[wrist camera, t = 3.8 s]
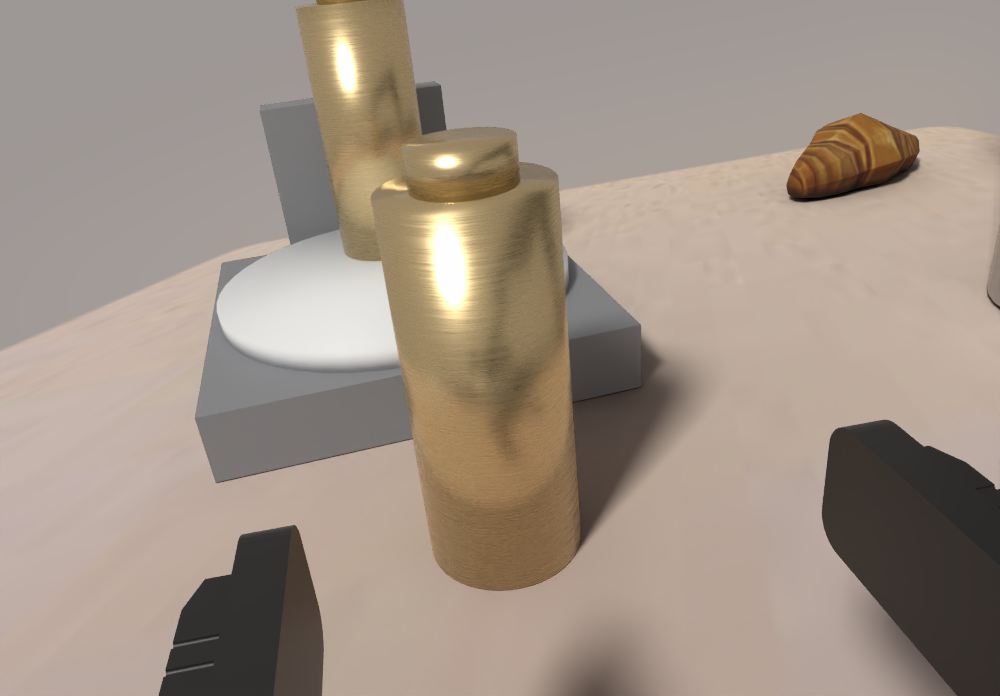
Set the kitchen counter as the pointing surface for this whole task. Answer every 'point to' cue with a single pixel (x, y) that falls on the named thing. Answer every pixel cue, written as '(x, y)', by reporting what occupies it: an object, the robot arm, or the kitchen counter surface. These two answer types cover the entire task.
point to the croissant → (851, 157)
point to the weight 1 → (360, 104)
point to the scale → (343, 327)
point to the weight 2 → (484, 353)
